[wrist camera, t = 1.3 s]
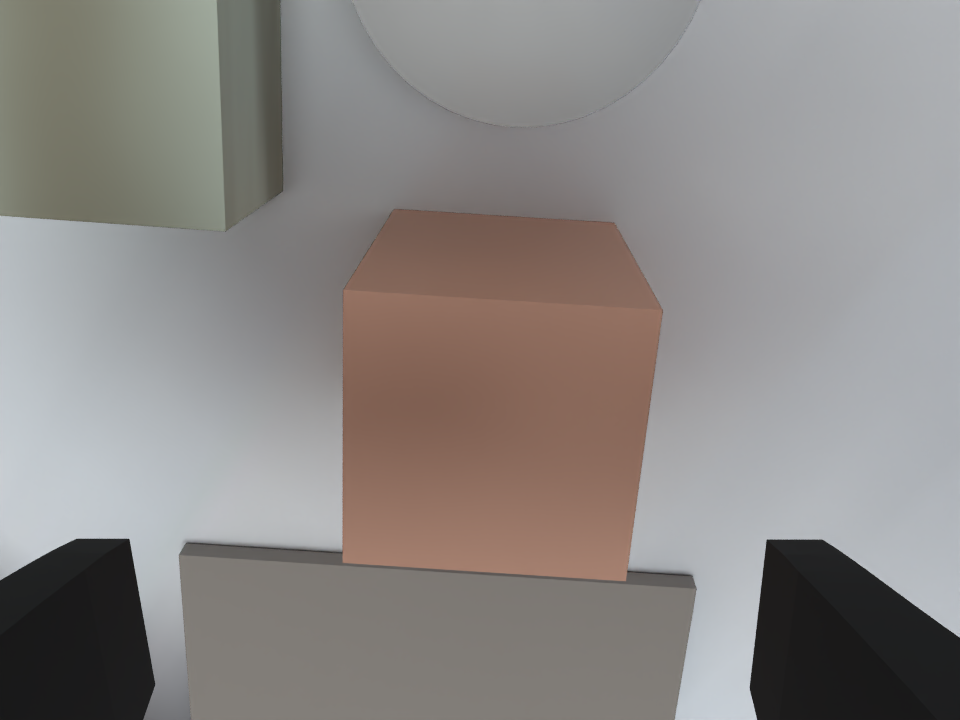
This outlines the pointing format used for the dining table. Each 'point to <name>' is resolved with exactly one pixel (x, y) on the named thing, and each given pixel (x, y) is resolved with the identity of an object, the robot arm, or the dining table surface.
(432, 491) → the terracotta block
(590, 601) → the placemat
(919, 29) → the dining table surface
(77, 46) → the sage block
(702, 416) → the dining table surface
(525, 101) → the grey cylinder
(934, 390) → the dining table surface
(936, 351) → the dining table surface
